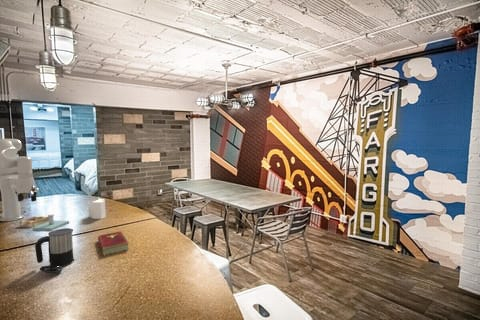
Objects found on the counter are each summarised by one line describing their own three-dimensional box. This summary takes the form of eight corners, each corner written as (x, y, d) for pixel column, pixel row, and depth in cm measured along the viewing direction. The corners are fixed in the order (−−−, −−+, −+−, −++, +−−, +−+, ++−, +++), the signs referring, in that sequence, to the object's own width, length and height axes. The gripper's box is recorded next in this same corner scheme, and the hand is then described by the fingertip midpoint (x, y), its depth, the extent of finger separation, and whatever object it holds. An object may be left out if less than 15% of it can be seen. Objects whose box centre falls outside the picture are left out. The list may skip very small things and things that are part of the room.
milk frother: (70, 256, 121) (69, 226, 120) (83, 266, 111) (81, 234, 110) (33, 268, 110) (31, 235, 109) (43, 280, 100) (40, 244, 99)
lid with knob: (32, 229, 157) (31, 218, 157) (51, 222, 171) (51, 211, 170) (51, 230, 156) (50, 218, 155) (69, 223, 170) (68, 212, 169)
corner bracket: (101, 218, 179) (100, 202, 178) (85, 218, 179) (85, 202, 178) (109, 214, 190) (108, 198, 189) (94, 214, 190) (94, 198, 189)
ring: (19, 226, 163) (19, 221, 163) (35, 221, 174) (34, 216, 174) (35, 227, 162) (34, 221, 162) (49, 221, 173) (49, 216, 173)
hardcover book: (102, 256, 122) (102, 248, 121) (98, 242, 139) (97, 235, 138) (129, 250, 128) (128, 242, 128) (121, 237, 146) (121, 230, 145)
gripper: (7, 176, 163) (9, 202, 164) (31, 176, 161) (33, 202, 162) (19, 174, 171) (21, 199, 172) (42, 174, 169) (44, 199, 170)
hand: (27, 201), depth 167 cm, fingers open, 9 cm apart
